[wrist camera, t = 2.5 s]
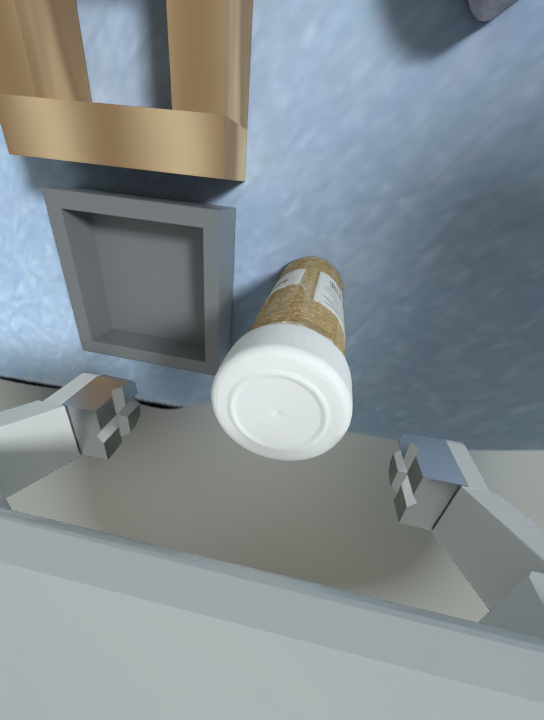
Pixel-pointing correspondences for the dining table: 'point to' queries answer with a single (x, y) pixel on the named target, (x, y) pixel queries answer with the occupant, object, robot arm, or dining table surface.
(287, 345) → the sprinkles bottle
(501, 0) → the stone block
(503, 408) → the dining table surface
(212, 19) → the oak bore block
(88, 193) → the tray
